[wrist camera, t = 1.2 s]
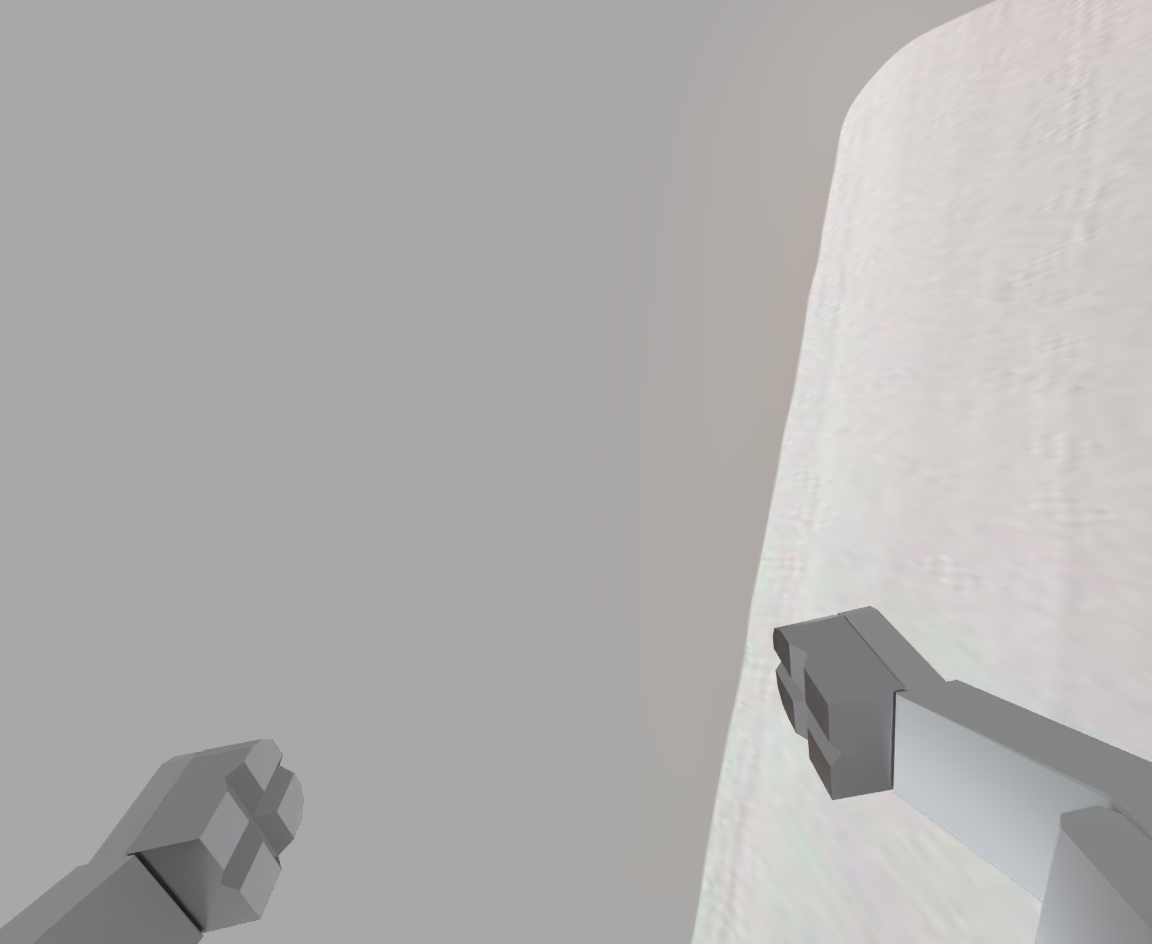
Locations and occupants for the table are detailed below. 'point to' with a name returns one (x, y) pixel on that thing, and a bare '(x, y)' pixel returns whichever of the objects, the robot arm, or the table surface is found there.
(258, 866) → the robot arm
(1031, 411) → the table surface
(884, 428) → the table surface
